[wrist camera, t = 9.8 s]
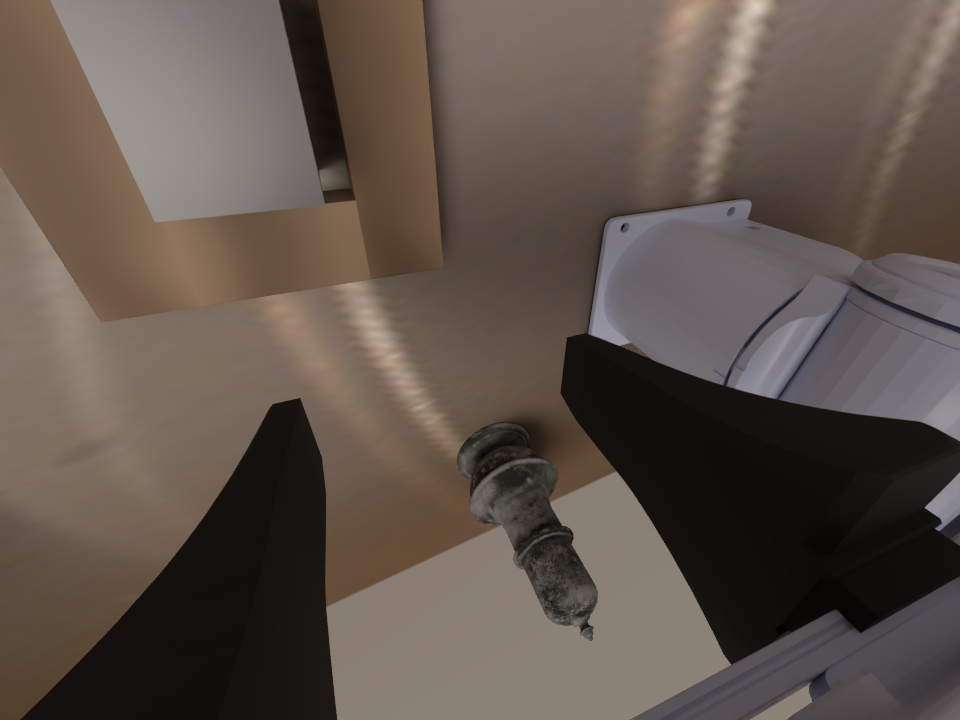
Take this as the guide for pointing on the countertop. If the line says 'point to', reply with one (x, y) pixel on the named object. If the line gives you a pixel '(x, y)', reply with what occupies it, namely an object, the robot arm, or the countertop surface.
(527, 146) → the countertop surface
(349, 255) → the socket frame
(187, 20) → the plug
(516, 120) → the countertop surface
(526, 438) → the weathered stone finial
